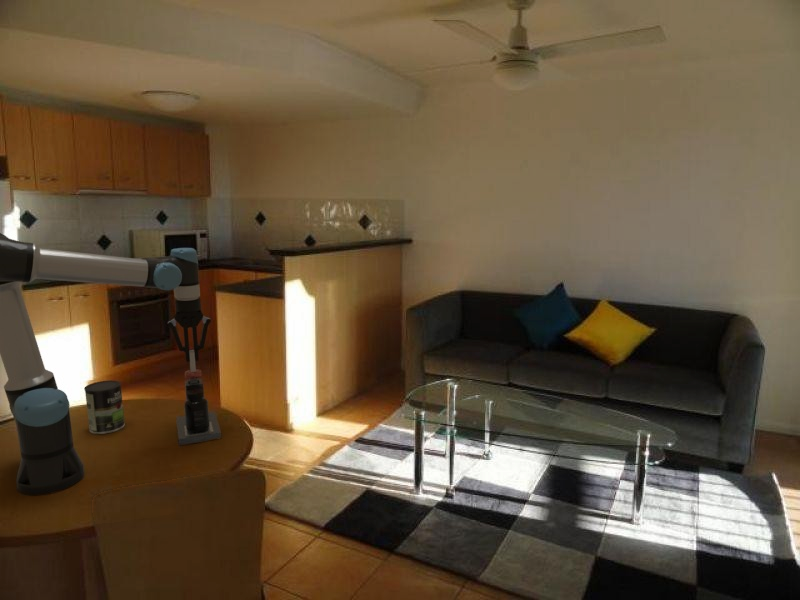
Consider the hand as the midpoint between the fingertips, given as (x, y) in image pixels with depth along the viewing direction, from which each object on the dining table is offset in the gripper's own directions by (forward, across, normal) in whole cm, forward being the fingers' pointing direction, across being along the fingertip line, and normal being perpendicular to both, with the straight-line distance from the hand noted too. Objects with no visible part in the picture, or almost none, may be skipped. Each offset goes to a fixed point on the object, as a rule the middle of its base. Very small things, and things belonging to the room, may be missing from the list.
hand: (193, 370), depth 182 cm
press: (+18, 0, +6) cm, 19 cm away
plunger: (+13, 0, 0) cm, 13 cm away
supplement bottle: (+16, 0, +10) cm, 19 cm away
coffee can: (+18, +27, -8) cm, 33 cm away
